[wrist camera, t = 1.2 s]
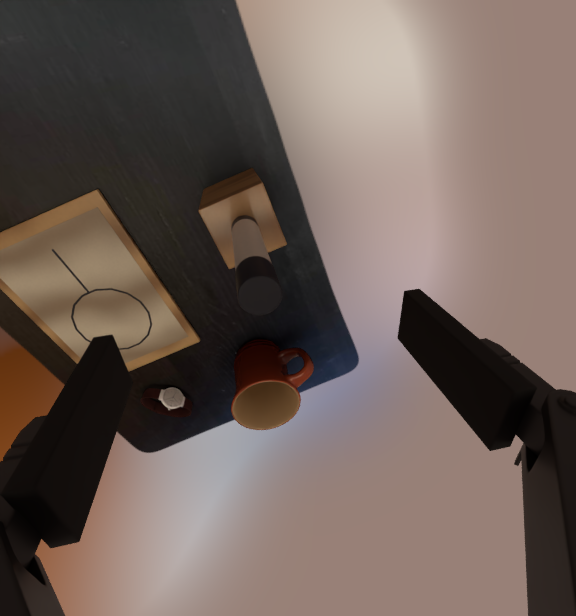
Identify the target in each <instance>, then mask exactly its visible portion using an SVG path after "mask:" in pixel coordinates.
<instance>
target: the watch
mask: <svg viewBox="0 0 576 616" xmlns="http://www.w3.org/2000/svg"><path fill="white" fill-rule="evenodd" d="M150 398H156V399H158V400H161V401H162V403H163V404H162V403H160V402H156V401H154V400H152V399H150ZM141 403H142V405H143V406H144V407H146V408H148V409H150V410H152V411H154V412H156V413H159V414H165V415H168V416H173V417H186V416H189V415H191V411H192V402H191V401H190V400H188V399H187V398H185V397H183V394H182V393H181V391H180V390H179V389H177V388H173V387H172V388H167V389H165V390H163V389H161V390H160V389H155V388H150V389H146V390H145V391H144V394H143V396H142V399H141ZM180 406H181V407H184V408H178V407H180Z"/></svg>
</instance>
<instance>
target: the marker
mask: <svg viewBox="0 0 576 616" xmlns="http://www.w3.org/2000/svg"><path fill="white" fill-rule="evenodd" d="M231 230H232V240H233V250H234V260H235V270H236V272H235V279H236V289H237V299H238V303H239V305H240V306H241V308H242V309H243V310H245V311H246V312H248V313H250V314H253V315H265V314H268V313H270V312H272V311H273V310H275V309H276V308H277V307H278V305H279V304H280V302H281V299H282V289H281V286H280V283H279V280H278V278H277V275H276V272H275V269H274V267H273V265H272V263H271V261H270V258H269V255H268V252H267V249H266V246H265V244H264V241H263V238H262V235H261V232H260V230H259V227H258V224H257V222H256V220H255V219H254V218H252V217H250V216H247V215H242V216H239V217H237V218H236V219H235V220H234V221H233V223H232V227H231Z"/></svg>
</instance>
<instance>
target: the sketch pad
mask: <svg viewBox="0 0 576 616" xmlns="http://www.w3.org/2000/svg"><path fill="white" fill-rule="evenodd" d="M0 289H1V290H2V291H3V292H4V293H5V294H6V295H7V296H8V297H9V298H10V299H11V300H12V301H13V302H14V303H16V304H17V305H18V306H19V307H20V308H21V309H22V310H23V311H24V312H25V313H26V314H27V315H28V316H29V317H30V318H31V319H32V320H33V321H34V322H35V323H36V324H37V325H38V326H39V327H40V328H41V329H42V330H43V331H44V332H45V333H46V334H47V335H48V336H49V337H50V338H51V339H52V340H53V341H54V342H55V343H56V344H57V345H58V346H59V347H61V348H62V349H63V350H64V351H65V352H66V353H67V354H68V355H69V356H70V357H71V358H72V359H73V360H74V361H75V362H76V363H77V364H78V362H79V361H80V359H81V357H82V356H83V354H84V352H85V351H86V349H87V347H88V346H89V344H90V342H91V341H92V339H93V337H99V336H105V335H112V334H113V336H114V339H115V341H116V343H117V346H118V348H119V351H120V353H121V355H122V358H123V360H124V362H125V365H126V367H127V369H128V372H129V371H131V370H133V369H136V368H138V367H141V366H143V365H145V364H148V363H150V362H152V361H155V360H157V359H159V358H162V357H164V356H167V355H169V354H171V353H174V352H176V351H178V350H181V349H183V348H186V347H188V346H190V345H193V344H195V343H197V342H200V337H199V336H198V335H197V333H196V332H195V330H194V329H193V327H192V326H191V324H190V323H189V321H188V320H187V318H186V317H185V315H184V314H183V312H182V311H181V310H180V308H179V307H178V305H177V304H176V302H175V301H174V299H173V298H172V296H171V295H170V293H169V292H168V290H167V289H166V287H165V286H164V285H163V283H162V282H161V280H160V279H159V277H158V276H157V274H156V273H155V271H154V270H153V268H152V267H151V265H150V264H149V262H148V261H147V260H146V258H145V257H144V255H143V254H142V252H141V251H140V249H139V248H138V246H137V245H136V243H135V242H134V240H133V239H132V237H131V236H130V235H129V233H128V232H127V230H126V229H125V227H124V226H123V224H122V223H121V221H120V220H119V218H118V217H117V215H116V214H115V213H114V211H113V210H112V208H111V207H110V205H109V204H108V202H107V201H106V199H105V198H104V196H103V195H102V193H101V192H100V190H99V189H96V190H94V191H92V192H90V193H87V194H85V195H83V196H81V197H79V198H76V199H74V200H72V201H70V202H67V203H65V204H63V205H61V206H58V207H56V208H54V209H52V210H49V211H47V212H45V213H43V214H40V215H38V216H36V217H34V218H31V219H29V220H27V221H25V222H22V223H20V224H18V225H16V226H13V227H11V228H9V229H7V230H4V231H2V232H0Z"/></svg>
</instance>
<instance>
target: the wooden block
mask: <svg viewBox="0 0 576 616" xmlns="http://www.w3.org/2000/svg"><path fill="white" fill-rule="evenodd" d="M198 211H199V213H200V215H201V217H202V219H203V221H204V223H205V225H206V226H207V228H208V230H209V232H210V234H211V236H212V238H213V240H214V242H215V243H216V245H217V247H218V249H219V251H220V253H221V255H222V257H223V259H224V260H225V262H226V264H227V266H228V268H229V269H231V268H233V267H235V260H234V250H233V240H232V230H231V227H232V223H233V221H234V220H235V219H236V218H237V217H239V216H242V215H247V216H250V217H252V218H254V219H255V220H256V222H257V224H258V227H259V230H260V232H261V235H262V238H263V241H264V244H265V246H266V249H267V252H271V251H273V250H275V249H278V248H280V247H282V246H285V245H287V243H286V240H285V238H284V235H283V233H282V230H281V228H280V225H279V222H278V220H277V217H276V215H275V212H274V210H273V207H272V205H271V202H270V200H269V197H268V195H267V192H266V190H265V187H264V184H263V182H262V181H261V179H260V178H259V177H258V175H257V174H256V172H255V171H254V169H253V168H250V169H248V170H246V171H243V172H241V173H239V174H237V175H234V176H232V177H230V178H228V179H225V180H223V181H221V182H218V183H216V184H214V185H212V186H209V187H207V188H205V189H204V190H203V194H202V198H201V202H200V206H199V210H198Z"/></svg>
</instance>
